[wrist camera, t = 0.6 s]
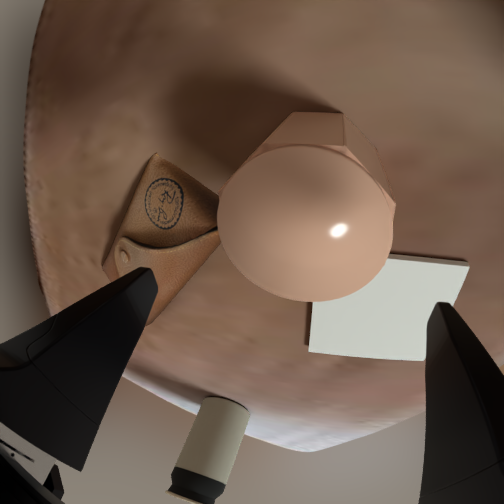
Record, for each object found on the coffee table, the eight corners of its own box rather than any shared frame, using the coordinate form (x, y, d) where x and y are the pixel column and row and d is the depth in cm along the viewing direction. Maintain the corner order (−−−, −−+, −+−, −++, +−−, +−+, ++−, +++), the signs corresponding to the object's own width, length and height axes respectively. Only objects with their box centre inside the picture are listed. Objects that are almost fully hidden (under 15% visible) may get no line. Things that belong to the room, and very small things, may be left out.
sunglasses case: (150, 143, 19) (140, 207, 16) (232, 172, 23) (244, 237, 19) (100, 270, 31) (94, 324, 27) (155, 282, 34) (156, 334, 31)
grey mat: (467, 261, 18) (469, 266, 17) (422, 356, 25) (423, 360, 24) (316, 246, 21) (316, 251, 20) (309, 346, 28) (308, 351, 27)
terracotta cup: (378, 116, 14) (406, 156, 8) (369, 221, 19) (376, 309, 12) (259, 111, 16) (203, 148, 10) (267, 213, 20) (228, 292, 14)
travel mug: (197, 391, 42) (154, 488, 29) (245, 401, 40) (205, 508, 26) (212, 411, 47) (176, 497, 33) (254, 420, 44) (222, 512, 30)
